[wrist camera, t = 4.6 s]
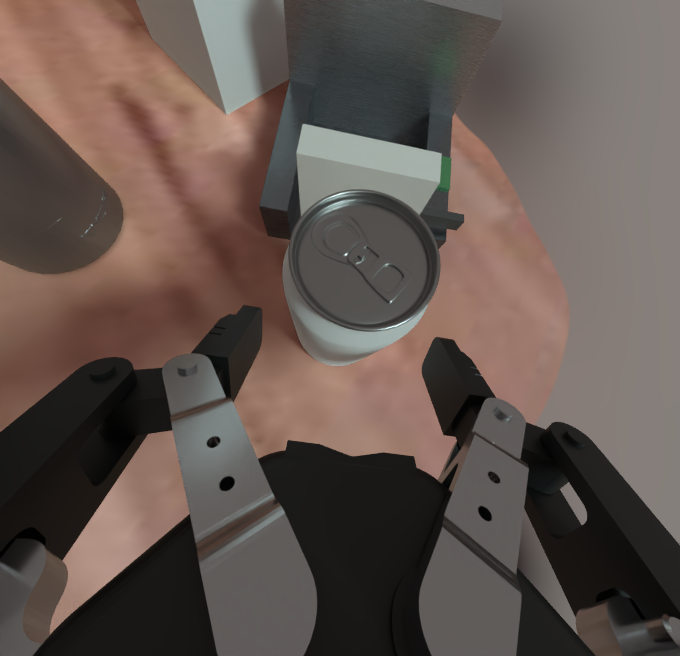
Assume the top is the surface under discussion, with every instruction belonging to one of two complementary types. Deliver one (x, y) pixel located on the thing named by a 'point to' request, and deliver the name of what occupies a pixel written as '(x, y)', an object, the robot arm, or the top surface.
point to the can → (358, 274)
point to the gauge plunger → (369, 171)
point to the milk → (223, 44)
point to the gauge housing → (375, 83)
